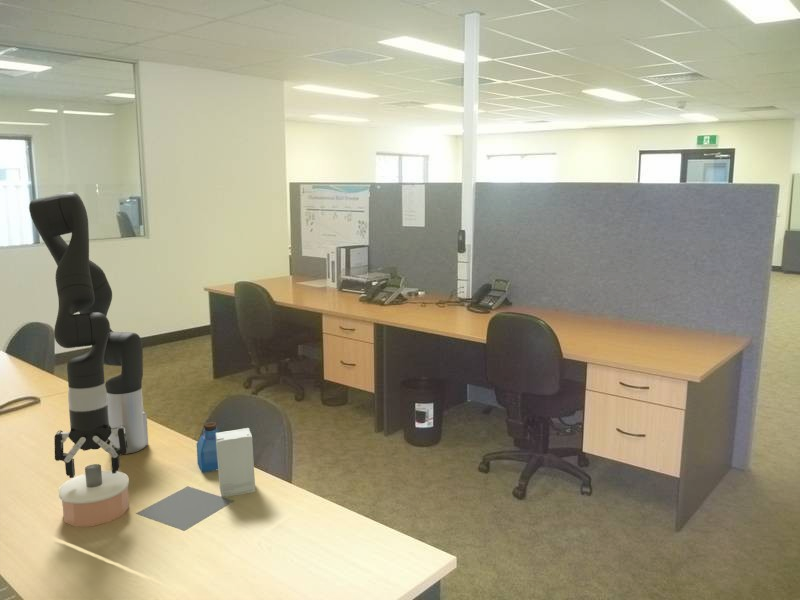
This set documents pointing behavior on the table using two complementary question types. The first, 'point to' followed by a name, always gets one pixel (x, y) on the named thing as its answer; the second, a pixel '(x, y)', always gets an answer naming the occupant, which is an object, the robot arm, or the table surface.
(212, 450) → the perfume bottle
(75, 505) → the bowl
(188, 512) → the mat
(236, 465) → the skincare box
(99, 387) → the robot arm
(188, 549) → the table surface
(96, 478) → the lid
